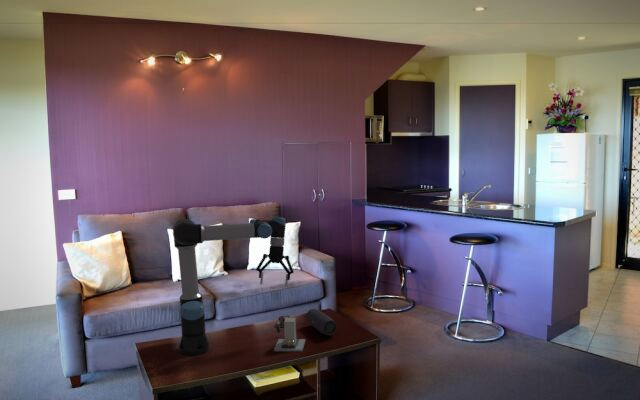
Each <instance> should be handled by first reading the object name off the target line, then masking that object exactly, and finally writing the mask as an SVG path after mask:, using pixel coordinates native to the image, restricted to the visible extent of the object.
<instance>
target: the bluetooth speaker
mask: <svg viewBox="0 0 640 400" xmlns="http://www.w3.org/2000/svg"><path fill="white" fill-rule="evenodd" d="M305 319H306V320H307V322H308V324H310V325H311V326H312V327H313V328H315V330H316V331H318V332H319V333H320V334H322V335H326V336H333V335H334V334H335V333H336V332H337V329H338V326H337V325H338V324H337V322H336V321H335V320H334V319H333V318H331V317H330V316H329V315H327V314H326V313H325V312H322V311H320V310H318V309H316V308H311V309H309V310H308V311H307V313H306V316H305Z"/></svg>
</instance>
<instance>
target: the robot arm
mask: <svg viewBox="0 0 640 400" xmlns="http://www.w3.org/2000/svg"><path fill="white" fill-rule="evenodd" d="M285 235H286V218H284V217H281V216H280V217H279V216H276V217H275V216H273V217H272V218H271V219H270V220H269V219H267V220H266V219H258V218H251V219H250V220H249V223H237V224H236V223H234V224H231V223H230V224H216V225H215V224H213V225H203V224H202V223H198V224H196V223H195V222H194V221H193V220H191V219H188V218H181V219H179V220H177V221H176V223H174V226H173V227H172V236H173V241H174V243H173V244H174V247H175V249H177V252H178V254H177V255H178V263H179V275H180V283H181V284H180V285H181V295H180V296H179V303H180V305H179V306H180V310H179V313H180V324H181V325H180V326H181V328H180V329H181V338H180V342H179V345H178V352H179V354H182V355H185V356H196V355H200V354H203V353H206V352H208V351H209V350H210V348H211V346H210V344H211V343H210V341H209V339H208V336H207V334H206V317H205V315H206V314H205V312H206V311H205V310H206V308H205V305H204V301H203V294H202V293H201V292H200V289H199V288H200V287H199V279H198V269H197V268H198V267H197V256H196V247H197V246H198V244H203V243H204V242H210V241H222V240H223V241H224V240H225V241H226V240H238V239H239V240H241V239H258V238H261V239H269V238H270V240H269V241H270V242H269V245H270V246H269V251H268V252H269V254H267V253H264V254H263V255H262V258H261V260H260V262H259V263H258V265H257V266H256V268H255V270H256V271H258V272H259V273H258V278H259V279H260V282H259V283H260V284H259V285H263V284H264V270H265V269H266V268H268V266H269V265H270V264H280V265H281V266H282V268H283V269H284V270H285V272H286V273H285V285H284V286H285V287H288V282H289V281H290V280H291V275H292V274H294V269H293V266H292V263H291V261H290V255H284V246H285V238H286V237H285ZM267 258H268V261H266V259H267ZM283 259H284V260H285V261H286V263H284V262H283ZM265 261H266V263H265V264H264V262H265ZM263 264H264V265H263ZM286 264H287V266H288V267H287V266H286Z"/></svg>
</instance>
